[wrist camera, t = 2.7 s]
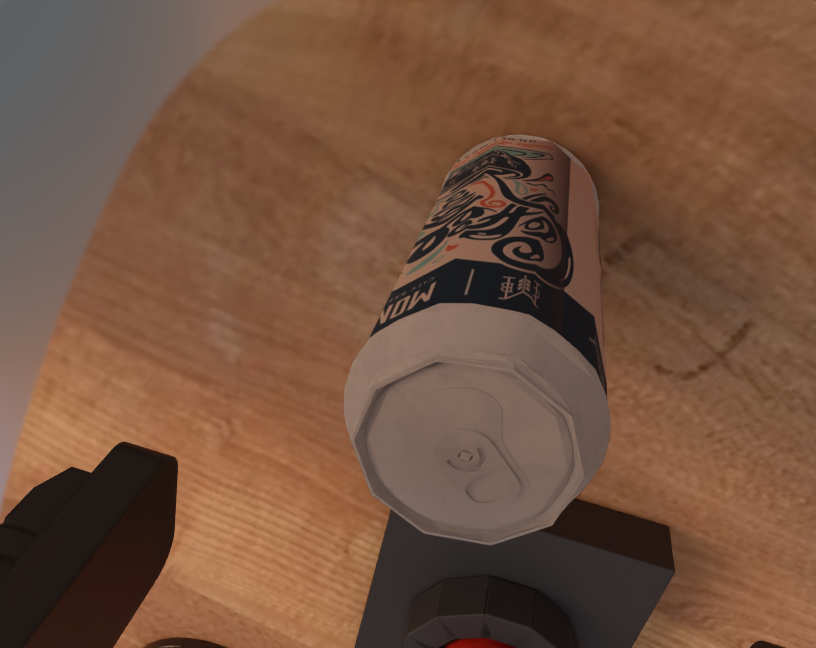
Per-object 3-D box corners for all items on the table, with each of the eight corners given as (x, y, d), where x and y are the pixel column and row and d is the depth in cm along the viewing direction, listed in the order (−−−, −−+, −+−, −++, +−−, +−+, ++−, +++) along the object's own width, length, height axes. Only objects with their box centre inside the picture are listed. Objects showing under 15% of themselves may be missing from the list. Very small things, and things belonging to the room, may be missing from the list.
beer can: (550, 97, 21) (518, 283, 11) (627, 235, 22) (664, 514, 12) (411, 180, 23) (272, 403, 13) (490, 302, 25) (424, 590, 14)
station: (408, 449, 28) (384, 524, 25) (669, 526, 28) (682, 614, 24) (357, 644, 34) (332, 725, 31) (569, 711, 34) (567, 802, 30)
